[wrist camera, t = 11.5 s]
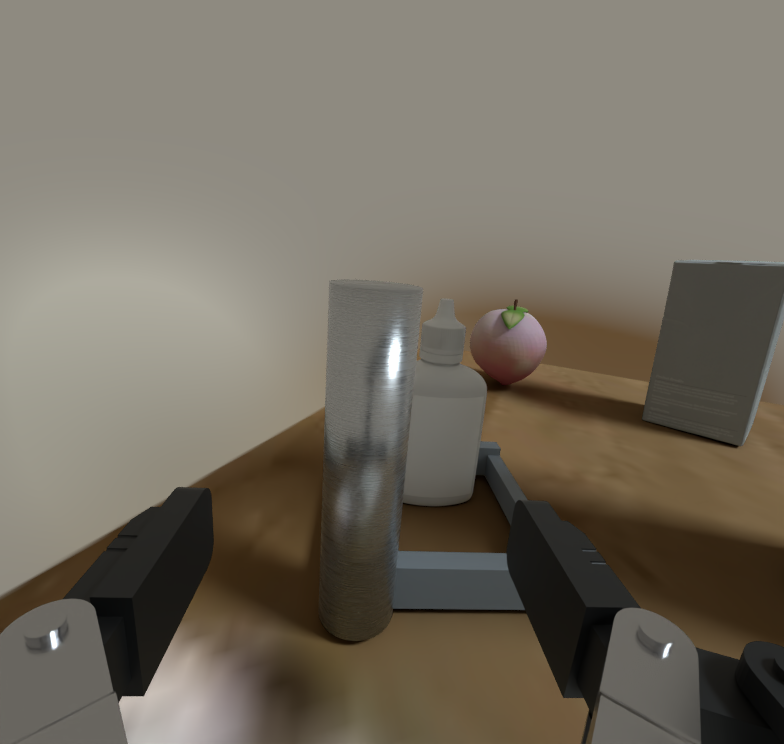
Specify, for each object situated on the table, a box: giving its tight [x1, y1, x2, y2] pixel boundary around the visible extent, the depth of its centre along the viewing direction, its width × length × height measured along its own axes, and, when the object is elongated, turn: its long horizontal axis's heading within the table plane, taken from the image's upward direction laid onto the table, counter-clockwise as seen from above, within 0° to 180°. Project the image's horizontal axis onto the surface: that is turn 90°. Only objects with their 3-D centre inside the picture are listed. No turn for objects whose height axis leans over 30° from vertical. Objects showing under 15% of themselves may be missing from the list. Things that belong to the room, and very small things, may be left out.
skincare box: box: [642, 260, 784, 446], centre depth 39 cm, size 8×7×16 cm
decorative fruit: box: [470, 300, 547, 385], centre depth 48 cm, size 9×8×10 cm
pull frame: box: [319, 280, 527, 641], centre depth 21 cm, size 11×14×13 cm
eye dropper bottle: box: [403, 299, 487, 506], centre depth 25 cm, size 4×6×12 cm
